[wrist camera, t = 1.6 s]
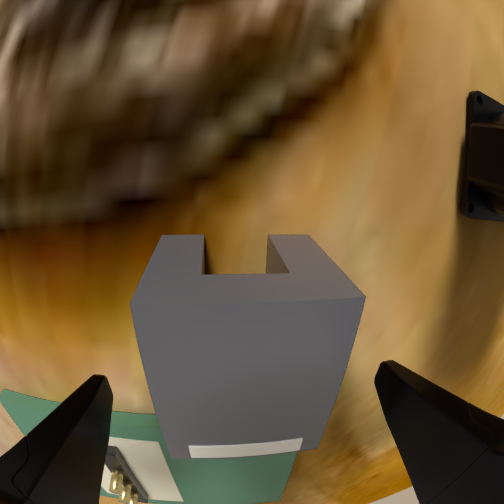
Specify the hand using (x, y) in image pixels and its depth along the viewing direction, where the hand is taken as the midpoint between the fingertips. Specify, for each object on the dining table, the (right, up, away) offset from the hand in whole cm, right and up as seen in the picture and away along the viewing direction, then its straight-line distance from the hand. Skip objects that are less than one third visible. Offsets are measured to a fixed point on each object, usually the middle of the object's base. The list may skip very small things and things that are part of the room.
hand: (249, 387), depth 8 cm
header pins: (-9, -12, +7) cm, 17 cm away
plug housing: (-1, +1, +4) cm, 4 cm away
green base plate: (-7, -12, +8) cm, 16 cm away
